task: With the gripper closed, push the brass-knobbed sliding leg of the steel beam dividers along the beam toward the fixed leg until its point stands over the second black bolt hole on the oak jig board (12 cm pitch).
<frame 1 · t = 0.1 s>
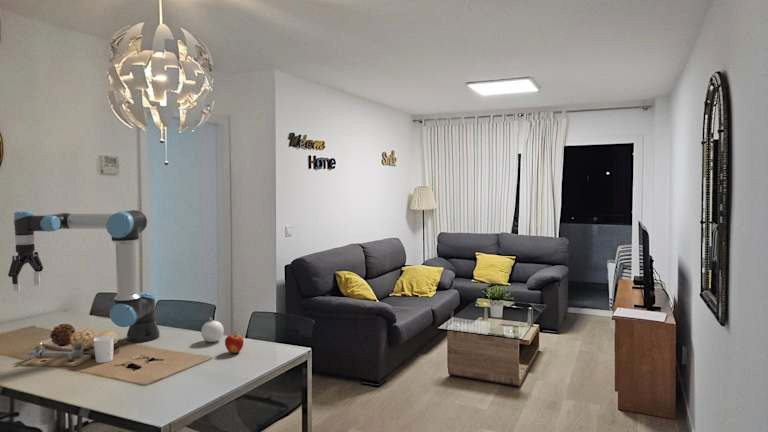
hand: (27, 287, 258), 28 cm above the table, fingers open, 13 cm apart
jig board: (57, 361, 237), on the table
white cup: (104, 360, 238), on the table
dividers beam: (78, 359, 240), resting on jig board
apple: (234, 353, 249), on the table
ornament: (212, 341, 265), on the table
sliding leg: (35, 351, 238), point 4 cm above the table, slide at 18.0 cm
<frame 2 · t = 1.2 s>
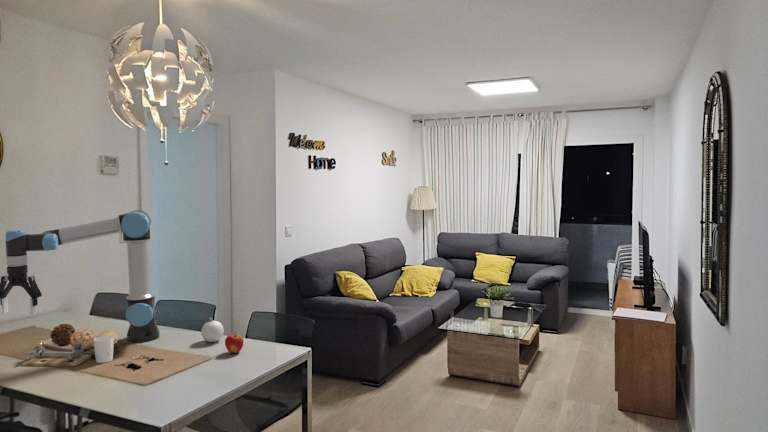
hand: (19, 312, 240), 21 cm above the table, fingers open, 12 cm apart
nothing on the table moved.
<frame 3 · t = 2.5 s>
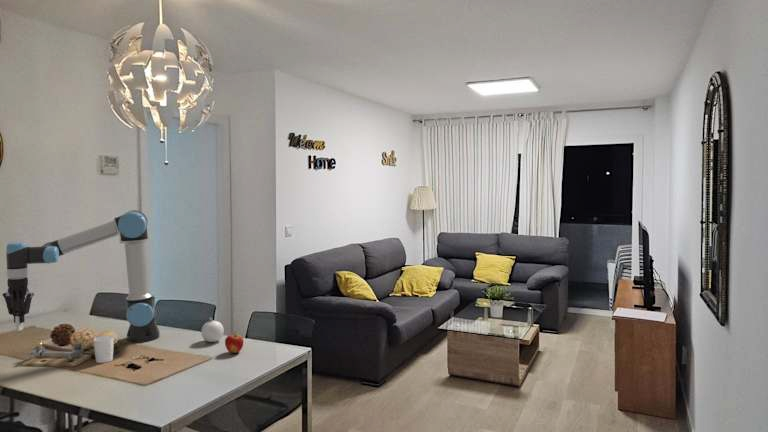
hand: (19, 329, 240), 13 cm above the table, fingers closed
nothing on the table moved.
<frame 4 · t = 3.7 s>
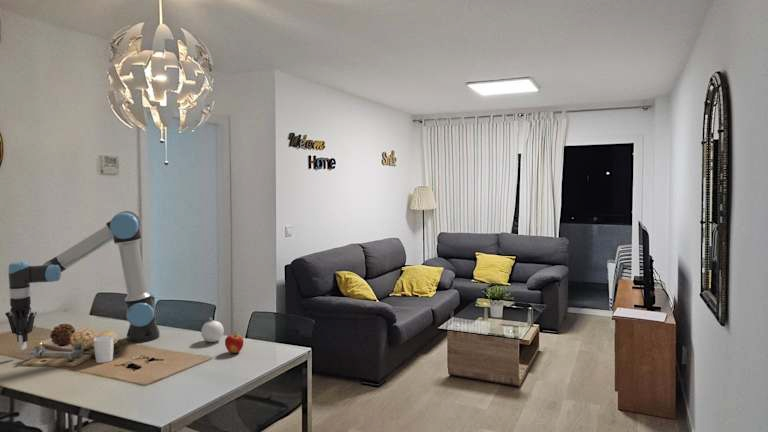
hand: (23, 348, 241), 4 cm above the table, fingers closed
nothing on the table moved.
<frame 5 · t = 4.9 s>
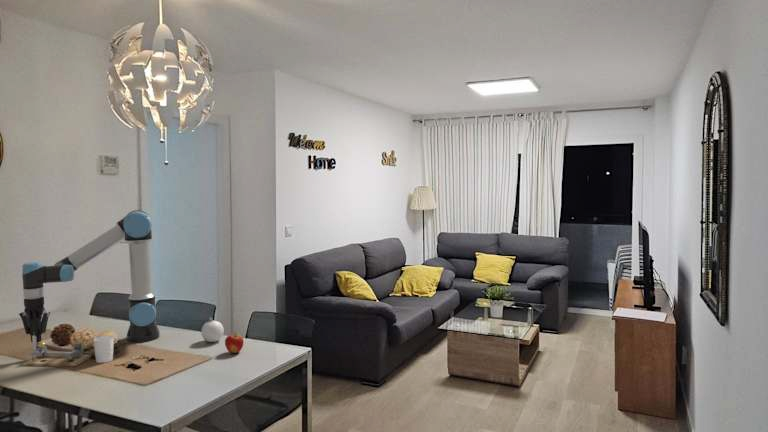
hand: (36, 349, 241), 4 cm above the table, fingers closed
sliding leg: (37, 351, 238), point 4 cm above the table, slide at 16.8 cm, touching gripper
everything else where it was.
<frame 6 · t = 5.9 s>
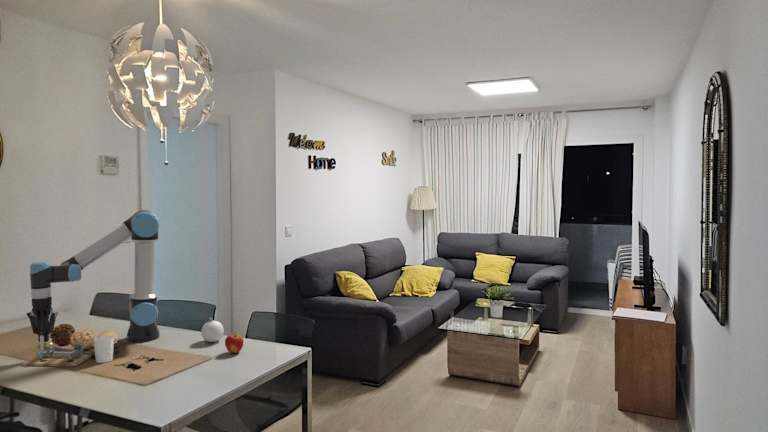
hand: (44, 349, 240), 4 cm above the table, fingers closed
sliding leg: (45, 351, 238), point 4 cm above the table, slide at 13.3 cm, touching gripper
everything else where it was.
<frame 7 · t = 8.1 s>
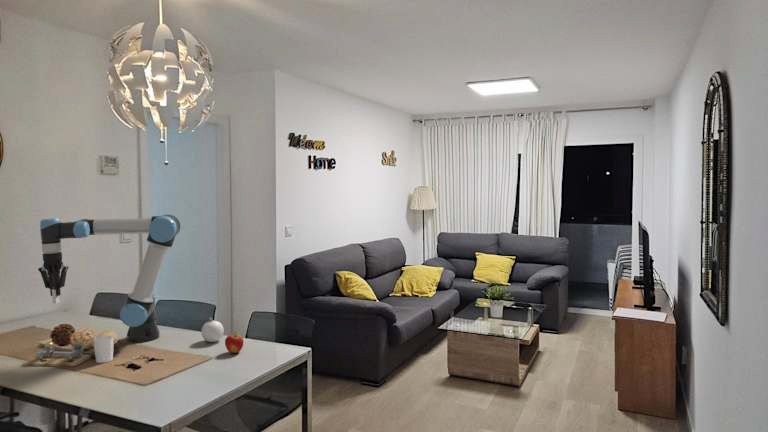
hand: (56, 302, 249), 23 cm above the table, fingers closed
sliding leg: (45, 351, 238), point 4 cm above the table, slide at 13.3 cm
everything else where it was.
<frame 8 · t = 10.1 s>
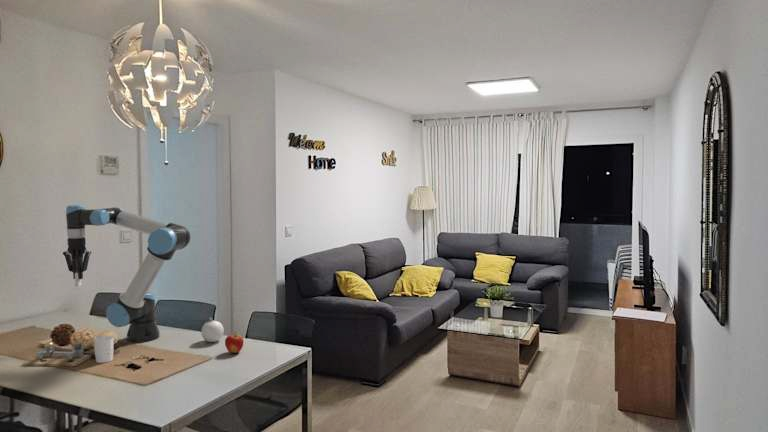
hand: (78, 285, 260), 28 cm above the table, fingers closed
nothing on the table moved.
at the end: sliding leg slide at 13.3 cm; sliding leg touching nothing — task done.
